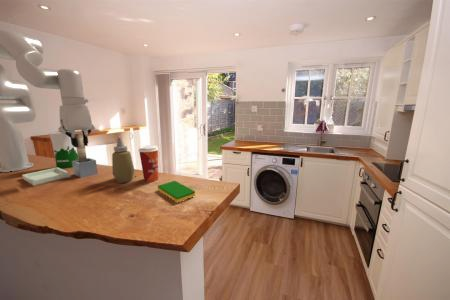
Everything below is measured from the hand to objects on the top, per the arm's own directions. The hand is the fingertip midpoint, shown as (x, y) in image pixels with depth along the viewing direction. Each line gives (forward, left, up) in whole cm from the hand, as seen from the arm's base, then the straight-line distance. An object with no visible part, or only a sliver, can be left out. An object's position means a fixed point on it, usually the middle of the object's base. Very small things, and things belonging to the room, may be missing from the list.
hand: (80, 145), depth 86 cm
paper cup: (+28, +13, -14) cm, 34 cm away
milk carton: (-22, +1, -14) cm, 26 cm away
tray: (-9, -11, -14) cm, 19 cm away
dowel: (0, 0, -7) cm, 7 cm away
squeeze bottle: (+20, +6, -14) cm, 25 cm away
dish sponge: (+47, +9, -14) cm, 50 cm away
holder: (0, 0, -14) cm, 14 cm away
